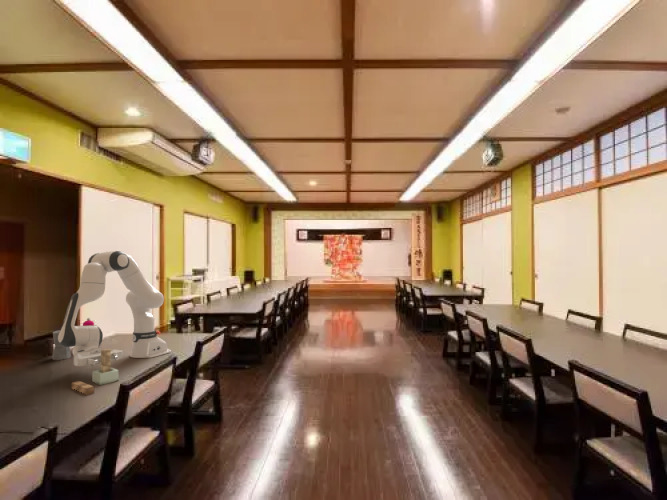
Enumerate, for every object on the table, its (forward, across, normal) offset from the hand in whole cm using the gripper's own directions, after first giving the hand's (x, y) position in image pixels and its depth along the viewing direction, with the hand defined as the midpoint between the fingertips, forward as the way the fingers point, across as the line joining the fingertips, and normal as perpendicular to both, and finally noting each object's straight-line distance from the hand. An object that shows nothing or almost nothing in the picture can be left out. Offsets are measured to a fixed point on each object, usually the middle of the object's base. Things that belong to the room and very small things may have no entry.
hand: (106, 360), depth 183 cm
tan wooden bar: (+5, +12, -10) cm, 17 cm away
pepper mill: (-72, -21, -10) cm, 76 cm away
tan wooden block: (-1, 0, -9) cm, 9 cm away
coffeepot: (-62, -4, -10) cm, 63 cm away
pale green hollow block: (-1, 0, -10) cm, 10 cm away
